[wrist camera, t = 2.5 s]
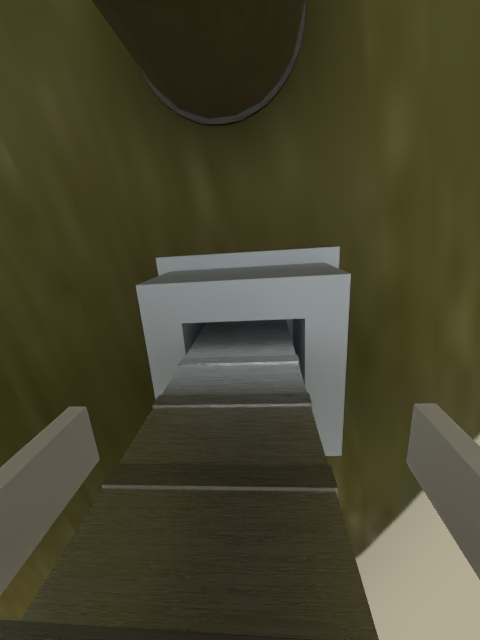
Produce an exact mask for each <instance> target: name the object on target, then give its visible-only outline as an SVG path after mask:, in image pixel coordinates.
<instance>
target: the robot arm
mask: <svg viewBox="0 0 480 640" xmlns="http://www.w3.org/2000/svg"><path fill="white" fill-rule="evenodd" d="M99 460H100V458H99V455H98V451H97V447H96V443H95V439H94V435H93V431H92V427H91V423H90V419H89V416H88V412H87V408H86V407H68V408H67V409H66V410H65V411H64V412H63V413H61V414H60V415H59V416H58V417H57V418H56V419H55V420H54V421H52V422H51V423H50V424H49V425H48V426H47V427H46V428H44V429H43V430H42V431H41V432H40V433H39V434H38V435H37V436H35V437H34V438H33V439H32V440H31V441H30V442H29V443H27V444H26V445H25V446H24V447H23V448H22V449H21V450H20V451H18V452H17V453H16V454H15V455H14V456H13V457H12V458H10V459H9V460H8V461H7V462H6V463H5V464H4V465H3V466H1V467H0V596H1V594H2V593H3V592H4V590H5V589H6V587H7V586H8V585H9V583H10V582H11V581H12V579H13V578H14V577H15V575H16V574H17V572H18V571H19V570H20V568H21V567H22V566H23V564H24V563H25V561H26V560H27V559H28V557H29V556H30V555H31V553H32V552H33V550H34V549H35V548H36V546H37V545H38V544H39V542H40V541H41V540H42V538H43V537H44V535H45V534H46V533H47V531H48V530H49V529H50V527H51V526H52V524H53V523H54V522H55V520H56V519H57V518H58V516H59V515H60V513H61V512H62V511H63V509H64V508H65V507H66V505H67V504H68V503H69V501H70V500H71V498H72V497H73V496H74V494H75V493H76V492H77V490H78V489H79V487H80V486H81V485H82V483H83V482H84V481H85V479H86V478H87V476H88V475H89V474H90V472H91V471H92V470H93V468H94V467H95V466H96V464H97V463H98V461H99ZM406 463H407V465H408V466H409V468H410V470H411V471H412V473H413V474H414V476H415V477H416V479H417V481H418V482H419V484H420V485H421V487H422V489H423V490H424V492H425V493H426V495H427V497H428V498H429V500H430V501H431V503H432V505H433V506H434V508H435V509H436V511H437V512H438V514H439V516H440V517H441V519H442V520H443V522H444V524H445V525H446V527H447V528H448V530H449V531H450V533H451V535H452V536H453V538H454V539H455V541H456V543H457V544H458V546H459V547H460V549H461V551H462V552H463V554H464V555H465V557H466V558H467V560H468V562H469V563H470V565H471V566H472V568H473V570H474V571H475V573H476V574H477V576H478V577H479V579H480V446H479V445H478V444H477V443H476V442H475V441H474V440H473V439H472V438H471V437H470V436H469V435H468V434H467V433H466V432H464V431H463V430H462V429H461V428H460V427H459V426H458V425H457V424H456V423H455V422H454V421H453V420H452V419H451V418H450V417H449V416H448V415H447V414H446V413H445V412H444V411H443V410H442V409H441V408H440V407H439V406H438V405H437V404H414V409H413V416H412V424H411V431H410V439H409V446H408V454H407V461H406Z"/></svg>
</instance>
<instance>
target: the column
mask: <svg viewBox="0 0 480 640" xmlns="http://www.w3.org/2000/svg"><path fill="white" fill-rule="evenodd" d="M152 407H153V409H152V411H151V412H150V414H149V415H148V417H147V419H146V420H145V422H144V423H143V425H142V427H141V428H140V430H139V431H138V433H137V435H136V436H135V438H134V439H133V441H132V443H131V444H130V446H129V447H128V449H127V451H126V452H125V454H124V455H123V457H122V459H121V460H120V462H119V463H115V464H114V466H113V468H112V469H111V471H110V472H109V474H108V475H107V477H106V478H105V480H104V482H103V483H102V491H101V492H100V494H99V496H98V497H97V499H96V500H95V502H94V504H93V505H92V507H91V508H90V510H89V512H88V513H87V515H86V516H85V518H84V520H83V521H82V523H81V524H80V526H79V528H78V529H77V531H76V532H75V534H74V536H73V537H72V539H71V540H70V542H69V544H68V545H67V547H66V548H65V550H64V552H63V553H62V555H61V556H60V558H59V560H58V561H57V563H56V564H55V566H54V568H53V569H52V571H51V572H50V574H49V576H48V577H47V579H46V580H45V582H44V584H43V585H42V587H41V588H40V590H39V592H38V593H37V595H36V596H35V598H34V600H33V601H32V603H31V604H30V606H29V608H28V609H27V611H26V612H25V614H24V616H23V617H22V619H21V620H20V621H12V620H0V640H379V639H378V635H377V632H376V629H375V625H374V622H373V618H372V615H371V611H370V608H369V604H368V601H367V598H366V594H365V591H364V587H363V584H362V580H361V577H360V573H359V570H358V567H357V563H356V560H355V556H354V553H353V549H352V546H351V542H350V539H349V536H348V532H347V529H346V525H345V522H344V518H343V515H342V511H341V508H340V504H339V501H338V498H337V495H338V487H337V484H336V480H335V477H334V474H333V470H332V467H331V465H328V463H327V460H326V456H325V453H324V449H323V446H322V442H321V439H320V436H319V432H318V429H317V425H316V422H315V418H314V415H313V411H312V401H311V398H310V394H309V393H307V391H306V387H305V384H304V380H303V377H302V374H301V370H300V367H299V358H298V355H296V353H295V349H294V346H293V343H292V339H291V336H290V332H289V329H288V325H287V322H286V319H279V320H254V321H229V322H207V323H206V324H205V326H204V327H203V329H202V331H201V332H200V334H199V335H198V337H197V339H196V340H195V342H194V343H193V345H192V347H191V348H190V350H189V351H188V353H187V355H186V356H185V358H182V360H181V361H180V363H179V367H178V369H177V371H176V372H175V374H174V375H173V377H172V379H171V380H170V382H169V383H168V385H167V387H166V388H165V390H164V391H163V393H162V395H159V396H158V397H157V399H156V400H155V402H154V403H153V405H152Z"/></svg>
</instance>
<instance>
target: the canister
mask: <svg viewBox="0 0 480 640" xmlns="http://www.w3.org/2000/svg"><path fill="white" fill-rule="evenodd" d="M92 1H93V2H94V4H95V5H96V7H97V8H98V9H99V11H100V12H101V13H102V15H103V16H104V18H105V19H106V20H107V22H108V23H109V25H110V26H111V27H112V29H113V30H114V32H115V33H116V34H117V36H118V37H119V38H120V40H121V41H122V43H123V44H124V45H125V47H126V48H127V50H128V51H129V52H130V54H131V55H132V57H133V58H134V59H135V61H136V62H137V64H138V65H139V67H140V70H141V72H142V74H143V76H144V77H145V79H146V81H147V82H148V84H149V86H150V87H151V88H152V90H153V91H154V92H155V93H156V95H157V96H158V97H159V98H160V100H161V101H162V102H163V103H164V104H166V105H167V106H168V107H169V108H171V109H172V110H173V111H175V112H176V113H178V114H179V115H181V116H183V117H186V118H188V119H190V120H193V121H195V122H197V123H200V124H225V123H230V122H235V121H240V120H243V119H245V118H246V117H248V116H250V115H252V114H253V113H255V112H256V111H258V110H259V109H261V108H262V107H264V106H265V105H267V104H268V103H269V102H270V101H271V99H272V98H273V97H274V96H275V95H276V94H277V92H278V91H279V90H280V89H281V87H282V86H283V84H284V82H285V80H286V79H287V77H288V75H289V74H290V72H291V70H292V69H293V66H294V63H295V61H296V58H297V55H298V52H299V49H300V45H301V40H302V35H303V31H304V22H305V11H306V10H305V0H92Z"/></svg>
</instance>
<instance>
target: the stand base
mask: <svg viewBox="0 0 480 640" xmlns="http://www.w3.org/2000/svg"><path fill="white" fill-rule="evenodd" d="M339 250H340V247H339V246H332V247H316V248H299V249H283V250H267V251H251V252H235V253H218V254H202V255H186V256H170V257H158V258H156V263H157V270H158V276H157V277H155V278H152V279H150V280H147V281H145V282H143V283H140V284H138V285H136V290H137V296H138V302H139V307H140V313H141V319H142V325H143V330H144V336H145V342H146V348H147V353H148V359H149V365H150V371H151V376H152V382H153V388H154V394H155V399H157V397H158V396H159V395H162V393H163V391H164V390H165V388H166V387H167V385H168V383H169V382H170V380H171V379H172V377H173V375H174V374H175V372H176V371H177V369H178V367H179V363H180V361H181V360H182V358H185V356H186V355H187V353H188V351H189V350H190V348H191V347H192V345H193V343H194V342H195V340H196V339H197V337H198V335H199V334H200V332H201V331H202V329H203V327H204V326H205V324H206V323H207V322H229V321H254V320H279V319H286V322H287V325H288V329H289V332H290V336H291V339H292V343H293V346H294V349H295V353H296V355H298V358H299V367H300V370H301V374H302V377H303V380H304V384H305V387H306V391H307V393H309V394H310V398H311V401H312V411H313V415H314V418H315V422H316V425H317V429H318V432H319V436H320V439H321V442H322V446H323V449H324V453H325V456H342V436H343V417H344V397H345V378H346V358H347V339H348V319H349V300H350V280H351V274H350V273H348V272H345V271H343V270H341V269H339Z"/></svg>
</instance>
